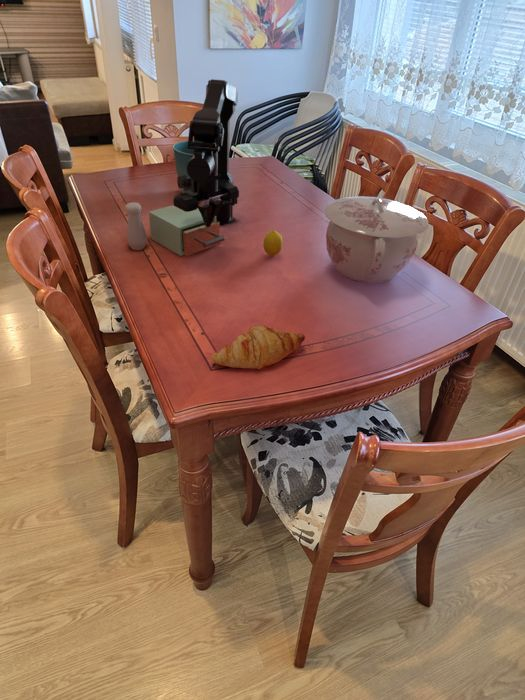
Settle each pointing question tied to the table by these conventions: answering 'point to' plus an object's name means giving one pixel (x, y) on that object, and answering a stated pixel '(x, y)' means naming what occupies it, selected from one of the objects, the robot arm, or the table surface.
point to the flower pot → (183, 160)
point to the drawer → (200, 237)
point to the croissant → (258, 348)
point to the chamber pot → (372, 236)
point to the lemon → (273, 243)
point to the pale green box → (172, 226)
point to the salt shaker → (135, 227)
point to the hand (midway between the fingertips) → (207, 226)
